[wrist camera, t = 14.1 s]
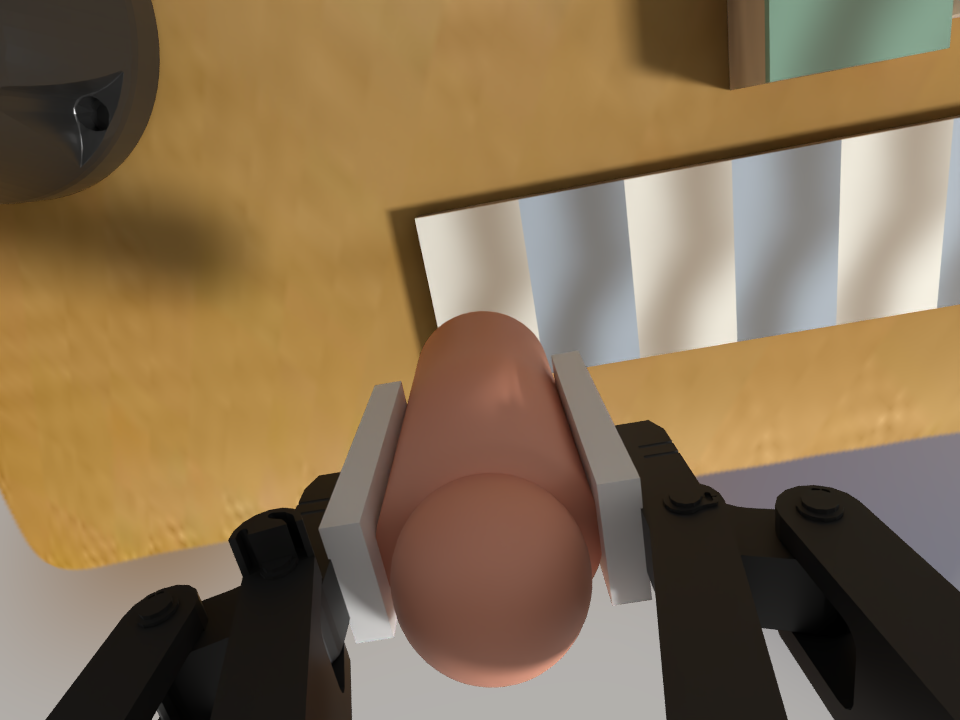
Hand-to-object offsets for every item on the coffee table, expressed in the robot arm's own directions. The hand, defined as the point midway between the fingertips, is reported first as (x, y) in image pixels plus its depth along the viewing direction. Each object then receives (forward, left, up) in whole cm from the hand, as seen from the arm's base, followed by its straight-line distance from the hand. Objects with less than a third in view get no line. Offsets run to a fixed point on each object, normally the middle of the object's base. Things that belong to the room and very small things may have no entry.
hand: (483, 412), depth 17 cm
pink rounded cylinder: (0, 0, -3) cm, 3 cm away
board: (+13, 0, -15) cm, 19 cm away
